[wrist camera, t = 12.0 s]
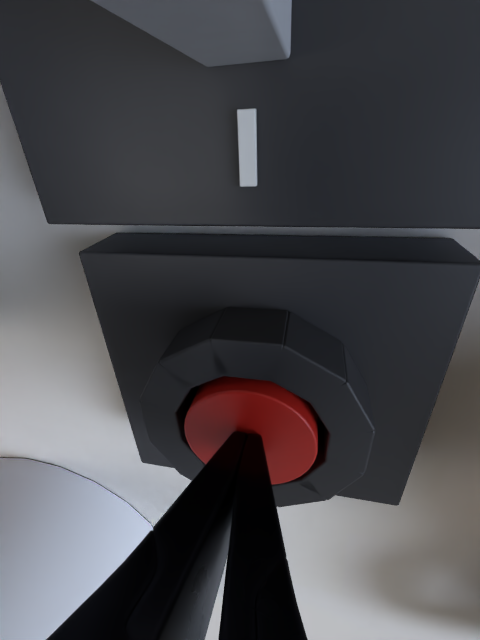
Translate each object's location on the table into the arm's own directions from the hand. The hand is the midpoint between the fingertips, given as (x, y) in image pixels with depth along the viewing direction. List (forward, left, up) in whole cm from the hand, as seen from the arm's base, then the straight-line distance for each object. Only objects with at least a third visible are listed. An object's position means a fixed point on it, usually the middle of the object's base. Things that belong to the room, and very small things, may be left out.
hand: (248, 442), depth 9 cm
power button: (0, 0, -2) cm, 2 cm away
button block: (0, 0, -4) cm, 4 cm away
